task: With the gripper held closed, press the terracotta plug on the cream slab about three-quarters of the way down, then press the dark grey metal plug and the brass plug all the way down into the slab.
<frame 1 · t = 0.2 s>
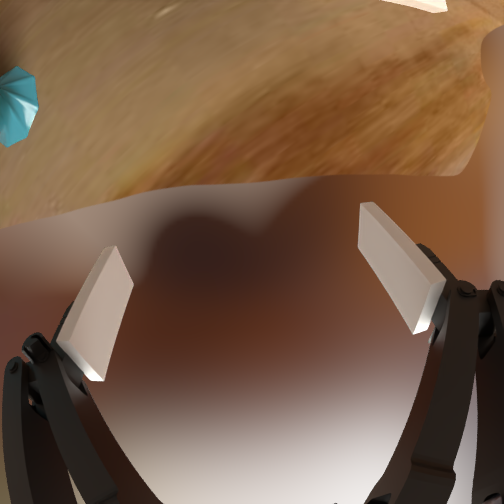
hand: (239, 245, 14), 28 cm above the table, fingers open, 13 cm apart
vase: (10, 106, 28), on the table
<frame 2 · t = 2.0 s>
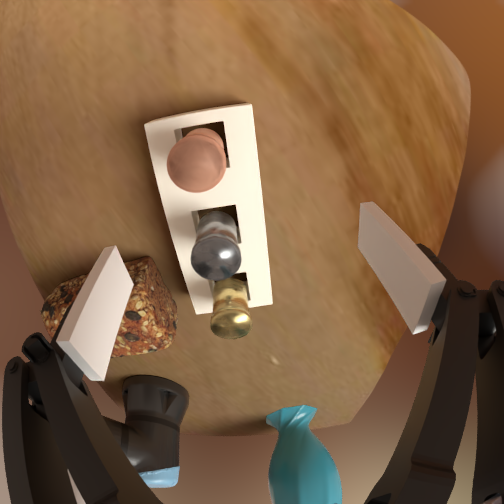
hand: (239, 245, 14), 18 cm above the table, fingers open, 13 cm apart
vase: (291, 415, 66), on the table
bread: (114, 292, 38), on the table
slab: (217, 211, 32), on the table
terracotta plug: (199, 155, 22), point 7 cm above the table, slide at 0.0 cm
grey plug: (216, 243, 26), point 7 cm above the table, slide at 0.0 cm
brass plug: (230, 307, 31), point 7 cm above the table, slide at 0.0 cm
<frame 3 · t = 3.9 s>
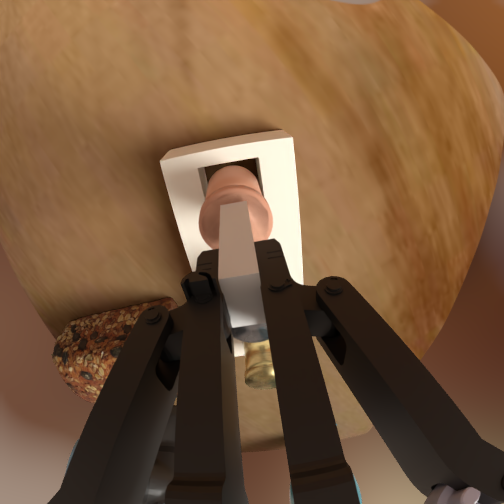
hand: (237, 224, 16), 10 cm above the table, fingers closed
bread: (131, 330, 35), on the table
slab: (246, 252, 29), on the table
terracotta plug: (234, 204, 19), point 7 cm above the table, slide at 0.3 cm, touching gripper
grey plug: (252, 299, 23), point 7 cm above the table, slide at 0.0 cm
brass plug: (264, 356, 28), point 7 cm above the table, slide at 0.0 cm
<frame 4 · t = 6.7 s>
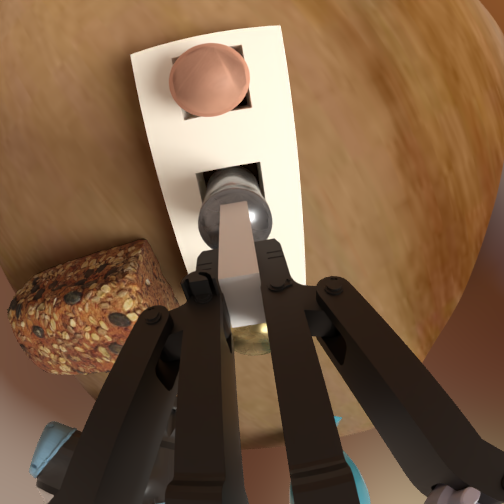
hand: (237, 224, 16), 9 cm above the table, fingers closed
vase: (312, 426, 57), on the table
bread: (100, 287, 29), on the table
slab: (231, 179, 23), on the table
terracotta plug: (211, 81, 15), point 4 cm above the table, slide at 2.8 cm
grey plug: (233, 204, 19), point 5 cm above the table, slide at 1.6 cm, touching gripper
brass plug: (253, 310, 22), point 7 cm above the table, slide at 0.0 cm
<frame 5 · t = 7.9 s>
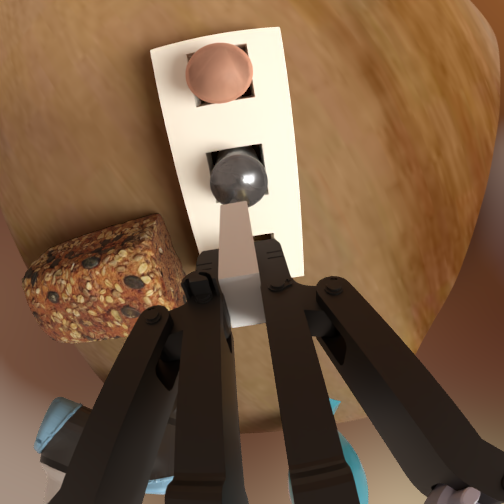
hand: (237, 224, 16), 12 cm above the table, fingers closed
vase: (312, 410, 61), on the table
bread: (112, 260, 32), on the table
slab: (237, 161, 26), on the table
terracotta plug: (220, 74, 18), point 4 cm above the table, slide at 2.8 cm
grey plug: (237, 171, 23), point 3 cm above the table, slide at 3.8 cm
brass plug: (255, 276, 25), point 7 cm above the table, slide at 0.0 cm
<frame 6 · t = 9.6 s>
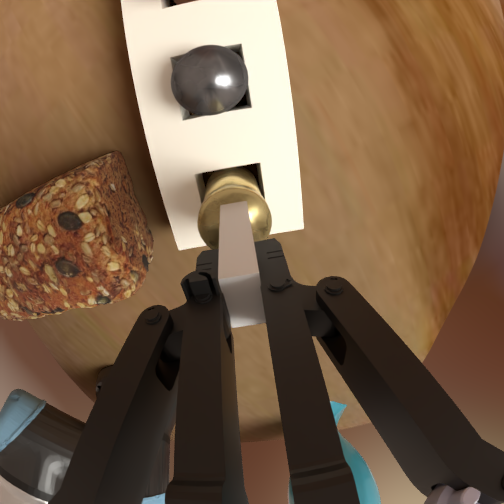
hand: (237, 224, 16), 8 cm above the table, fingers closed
vase: (314, 415, 53), on the table
bread: (67, 219, 24), on the table
slab: (213, 82, 18), on the table
grey plug: (211, 81, 16), point 3 cm above the table, slide at 3.8 cm
brass plug: (233, 204, 19), point 5 cm above the table, slide at 1.9 cm, touching gripper
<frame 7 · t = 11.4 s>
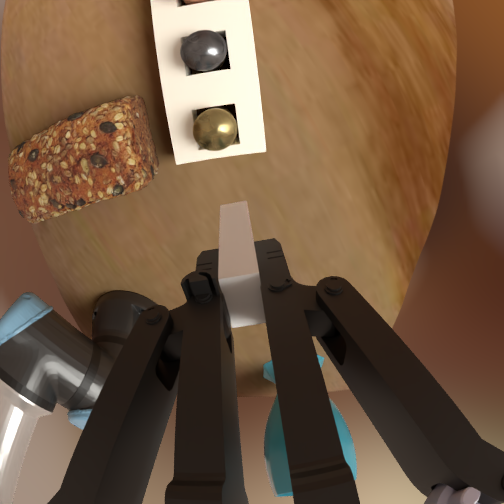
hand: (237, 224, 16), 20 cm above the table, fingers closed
vase: (293, 367, 61), on the table
bread: (93, 149, 31), on the table
slab: (208, 56, 26), on the table
grey plug: (206, 53, 23), point 3 cm above the table, slide at 3.8 cm
brass plug: (216, 126, 28), point 3 cm above the table, slide at 3.8 cm
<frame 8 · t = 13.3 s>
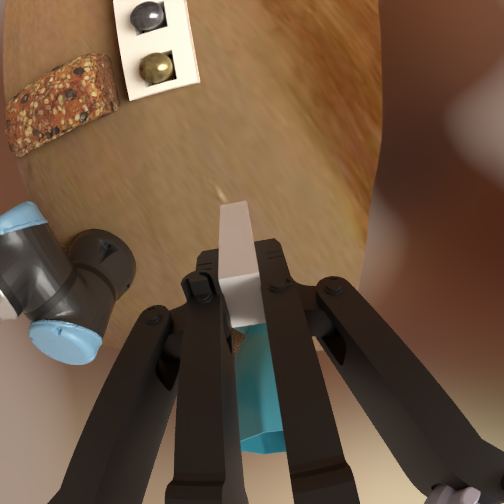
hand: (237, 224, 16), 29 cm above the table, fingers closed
vase: (262, 317, 63), on the table
bread: (72, 101, 34), on the table
slab: (156, 23, 29), on the table
grey plug: (150, 19, 26), point 3 cm above the table, slide at 3.8 cm
brass plug: (159, 68, 31), point 3 cm above the table, slide at 3.8 cm
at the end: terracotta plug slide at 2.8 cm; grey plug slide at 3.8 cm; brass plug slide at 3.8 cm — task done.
